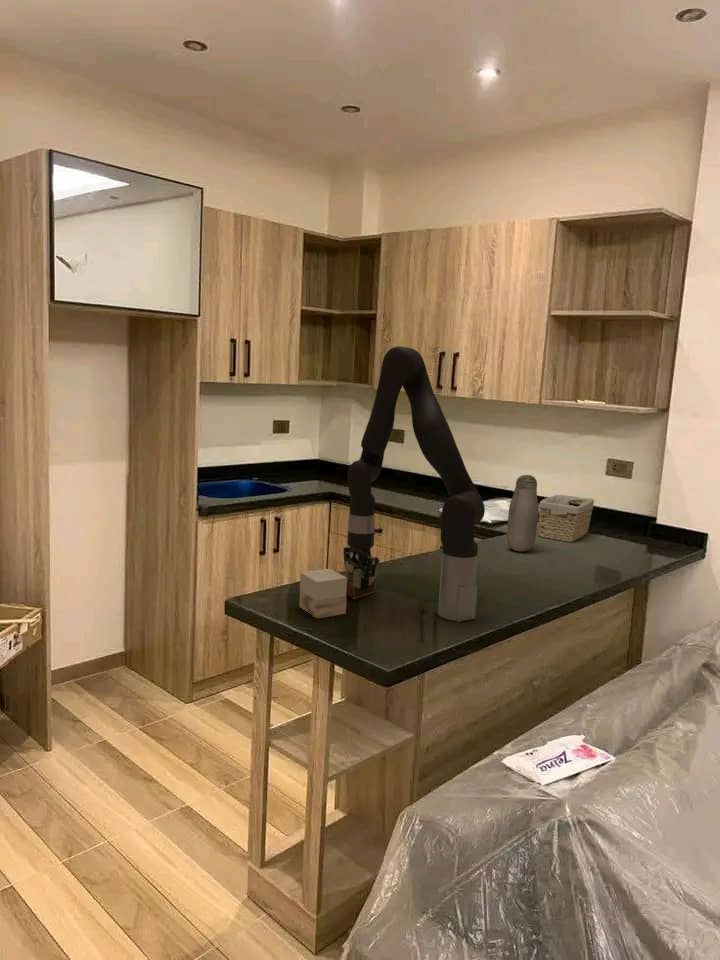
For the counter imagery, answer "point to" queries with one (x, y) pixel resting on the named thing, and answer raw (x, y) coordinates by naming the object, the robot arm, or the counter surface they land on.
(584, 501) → the storage basket
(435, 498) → the counter surface
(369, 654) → the counter surface
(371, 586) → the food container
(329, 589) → the tower top block
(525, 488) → the grey bottle
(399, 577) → the counter surface
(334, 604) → the tower base block
